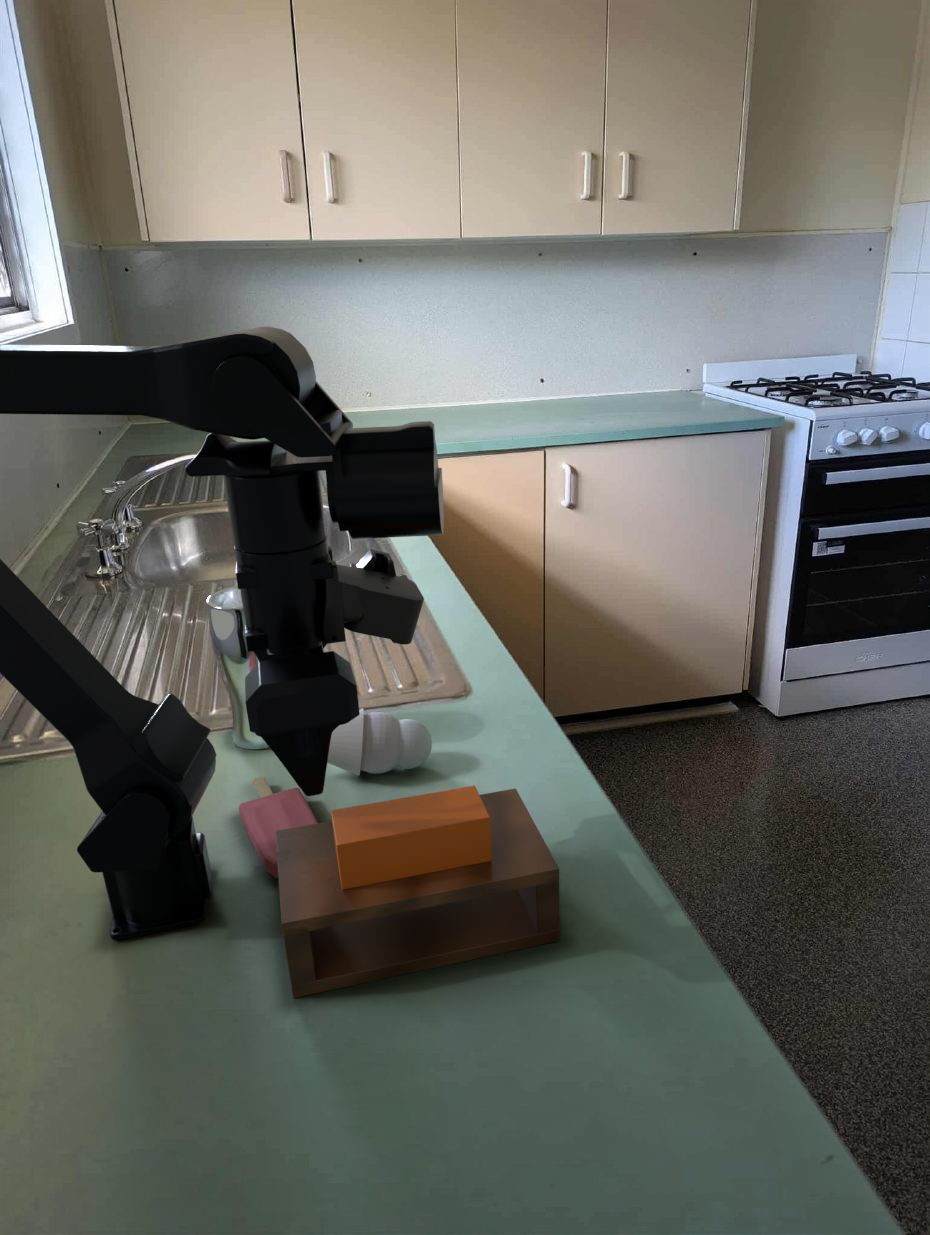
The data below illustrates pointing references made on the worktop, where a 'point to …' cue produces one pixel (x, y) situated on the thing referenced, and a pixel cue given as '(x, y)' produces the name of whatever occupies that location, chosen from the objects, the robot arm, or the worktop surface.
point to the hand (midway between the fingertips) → (309, 758)
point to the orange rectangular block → (411, 836)
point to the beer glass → (233, 659)
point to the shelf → (422, 939)
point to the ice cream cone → (379, 744)
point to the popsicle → (273, 819)
